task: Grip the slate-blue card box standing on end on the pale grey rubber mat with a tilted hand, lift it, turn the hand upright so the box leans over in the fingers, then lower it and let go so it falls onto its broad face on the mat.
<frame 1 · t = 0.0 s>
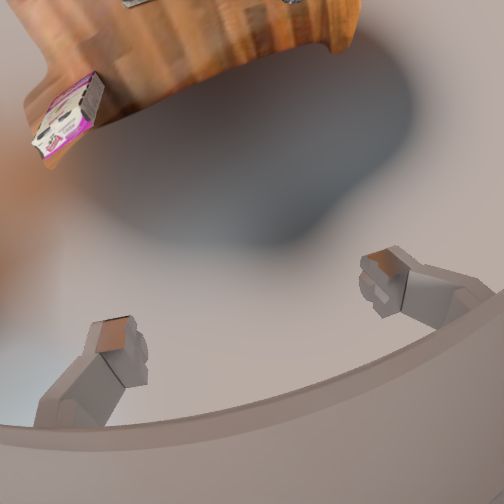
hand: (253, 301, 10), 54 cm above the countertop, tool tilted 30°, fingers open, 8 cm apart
candy bar box: (79, 92, 45), on the countertop
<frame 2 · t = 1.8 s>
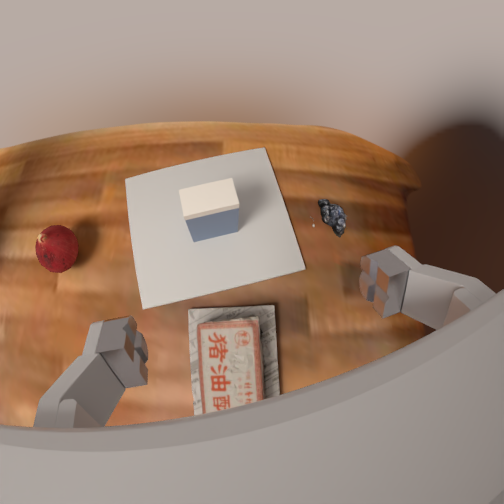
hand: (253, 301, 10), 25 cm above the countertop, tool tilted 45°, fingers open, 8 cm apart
blueberries: (327, 217, 39), on the countertop
packaged product: (235, 382, 32), on the countertop
card box: (212, 225, 36), resting on rubber mat
rubber mat: (207, 220, 37), on the countertop
onion: (71, 257, 34), on the countertop
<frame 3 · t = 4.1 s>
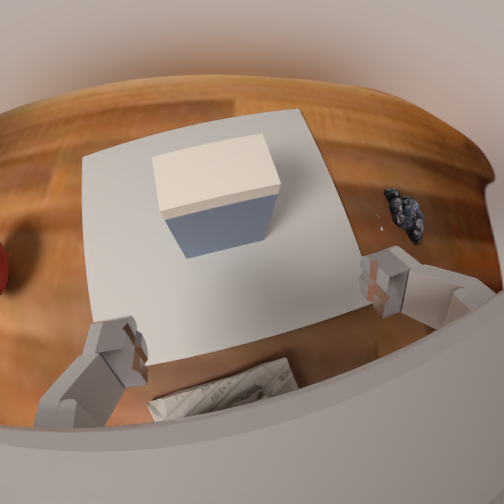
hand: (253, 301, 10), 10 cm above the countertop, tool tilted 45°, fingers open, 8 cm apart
blueberries: (397, 217, 23), on the countertop
packaged product: (261, 480, 17), on the countertop
card box: (220, 229, 21), resting on rubber mat
rubber mat: (210, 220, 21), on the countertop
onion: (6, 279, 19), on the countertop
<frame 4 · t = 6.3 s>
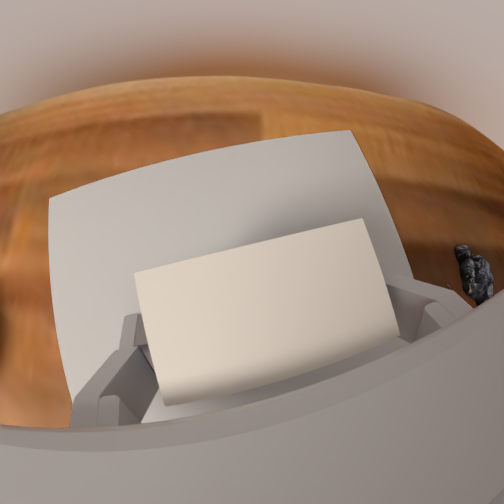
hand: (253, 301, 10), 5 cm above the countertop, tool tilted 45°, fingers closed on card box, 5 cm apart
blueberries: (465, 281, 16), on the countertop
card box: (251, 324, 14), resting on rubber mat, touching gripper
rubber mat: (235, 308, 14), on the countertop
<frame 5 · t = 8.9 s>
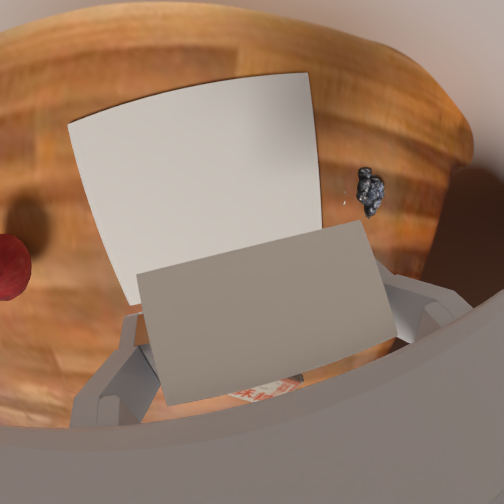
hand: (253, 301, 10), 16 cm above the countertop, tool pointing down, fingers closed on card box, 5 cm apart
blueberries: (361, 189, 28), on the countertop
packaged product: (229, 351, 34), on the countertop
card box: (250, 325, 14), point 14 cm above the countertop, tilted 45°, touching gripper
rubber mat: (206, 192, 24), on the countertop
onion: (20, 247, 22), on the countertop
when the fingers open (6 cm above the countertop, at t = 12.4 s): card box drops 1 cm and tips over, resting on rubber mat.
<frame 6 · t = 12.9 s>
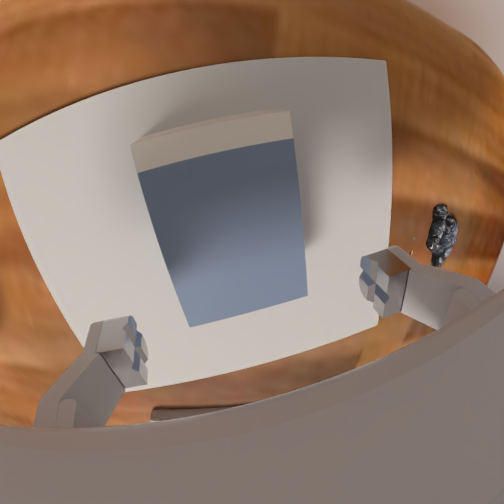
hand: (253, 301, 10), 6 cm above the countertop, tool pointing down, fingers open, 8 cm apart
blueberries: (431, 232, 19), on the countertop
packaged product: (246, 425, 25), on the countertop
card box: (242, 293, 14), point 2 cm above the countertop, tilted 90°, touching rubber mat
rubber mat: (221, 251, 15), on the countertop
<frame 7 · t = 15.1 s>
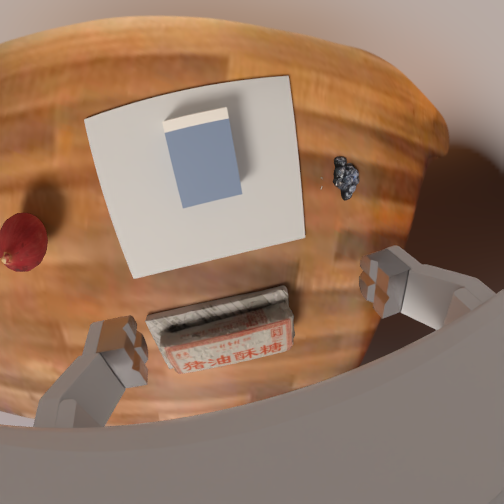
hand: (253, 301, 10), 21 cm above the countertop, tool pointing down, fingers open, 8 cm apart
blueberries: (338, 176, 32), on the countertop
packaged product: (221, 325, 38), on the countertop
card box: (211, 196, 27), point 2 cm above the countertop, tilted 90°, touching rubber mat
rubber mat: (201, 178, 28), on the countertop
onion: (37, 226, 26), on the countertop
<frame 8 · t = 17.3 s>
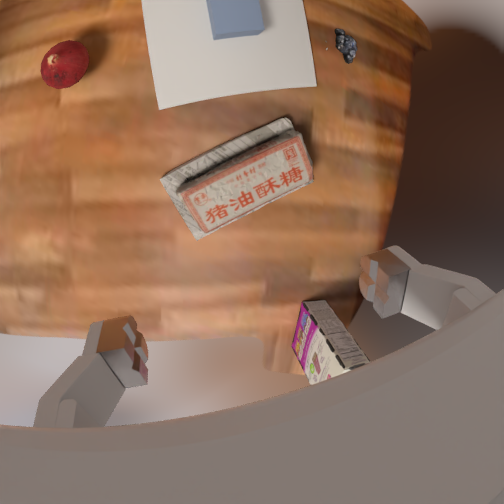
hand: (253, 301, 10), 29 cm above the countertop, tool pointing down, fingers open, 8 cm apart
blueberries: (339, 45, 31), on the countertop
packaged product: (238, 175, 38), on the countertop
candy bar box: (307, 322, 53), on the countertop
card box: (238, 34, 27), point 2 cm above the countertop, tilted 90°, touching rubber mat
rubber mat: (229, 28, 28), on the countertop
onion: (75, 68, 25), on the countertop
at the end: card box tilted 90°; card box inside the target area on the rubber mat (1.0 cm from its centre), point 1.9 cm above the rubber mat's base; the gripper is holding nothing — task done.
